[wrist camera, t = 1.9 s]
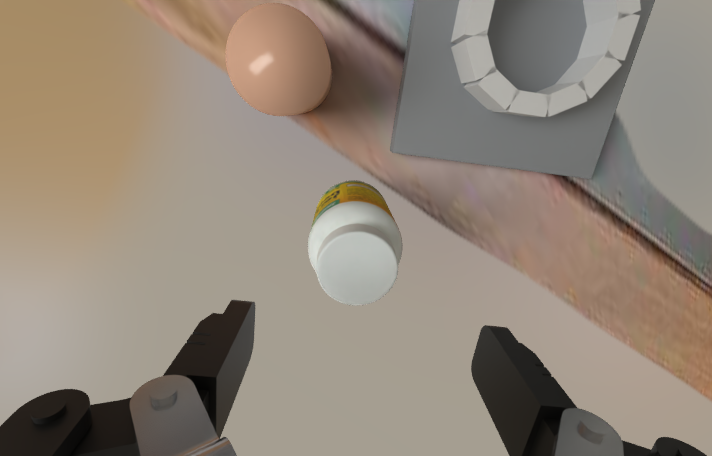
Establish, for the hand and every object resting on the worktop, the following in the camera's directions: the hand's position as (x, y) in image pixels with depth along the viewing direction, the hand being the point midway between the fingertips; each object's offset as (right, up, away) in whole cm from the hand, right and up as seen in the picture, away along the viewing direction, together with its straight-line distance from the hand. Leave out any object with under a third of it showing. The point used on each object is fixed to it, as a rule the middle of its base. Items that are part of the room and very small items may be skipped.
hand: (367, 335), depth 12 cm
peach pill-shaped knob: (-4, +14, +11) cm, 18 cm away
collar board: (+10, +16, +10) cm, 21 cm away
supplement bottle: (-1, +5, +14) cm, 15 cm away
